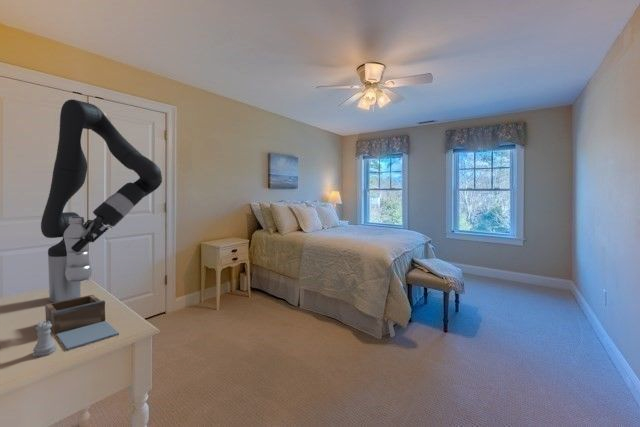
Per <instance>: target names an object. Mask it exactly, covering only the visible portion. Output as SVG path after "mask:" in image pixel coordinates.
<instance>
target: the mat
mask: <svg viewBox="0 0 640 427" xmlns="http://www.w3.org/2000/svg"><path fill="white" fill-rule="evenodd" d="M119 335H120V333H119V332H118V331H117V329H115V328H114V327H113V326H112V325H111V324H110V323H109V322H107V321H106V320H105V321H103V322H99V323H96V324H92V325H88V326H84V327H81V328H77V329H73V330H69V331H66V332H62V333H58V334H57V335H56V337H57V338H58V339H57V340H59V341H60V343H61V344H62V345H63V346H64V348H65V350H66V351H70V350H75V349H77V348H80V347H83V346H84V347H85V346H87V345H90V344H93V343H97V342H100V341H104V340H106V339H110V338H113V337H117V336H119Z"/></svg>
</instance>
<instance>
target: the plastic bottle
mask: <svg viewBox="0 0 640 427" xmlns="http://www.w3.org/2000/svg"><path fill="white" fill-rule="evenodd" d="M85 223H86V222H85V217H84V216H80V217H69V224H70V226H69V227H68V228H67V229H66V230H65V232H64V235H63V236H64V241H65V245H66V252H67V267H66V271H65V276H66V279H67V280H68V281H72V282H79V281H80V282H82V281H86V280H89V279H90V278H91V277H92V274H93V269H92V265H91V261H90V254H89V249H90V248H89V247H90V243H88V244H87V245H86V246H85V247H84V248H82V249H81V250H80V251H79V252H75V251H74V250H72V249H71V247H72V246H73V245H74V244H75V243H77V242H78V241H79V240H80V239H82V237H83V236H84V235H85V231H86V229H87V228H86V227H85V226H84V224H85Z"/></svg>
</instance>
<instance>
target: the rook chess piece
mask: <svg viewBox="0 0 640 427" xmlns="http://www.w3.org/2000/svg"><path fill="white" fill-rule="evenodd" d="M51 326H52V324H51V323H50V321H47V323H46V320H44V321H43V323H42V322H41V321H40V322H38V323H37V324H36V327H35V330H36V331H37V333H36V335H37V340H36V344H35V347H34V348H33V349H32V351H33V354H32V355H33V356H35V357H38V358H39V357H45V356H48V355H51V354H52V353H54V352H55V351H56V350H57V349H56V348H57V347H56V343H55V342H54V340H53V339H52V336H51V332H52V330H51V329H50V328H51Z"/></svg>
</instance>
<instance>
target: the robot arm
mask: <svg viewBox="0 0 640 427" xmlns="http://www.w3.org/2000/svg"><path fill="white" fill-rule="evenodd" d="M59 115H60V116H59V133H58V141H57V142H58V143H57V150H56V155H55V157H56V158H55V160H54V164H53V171H52V175H51V176H52V178H51V184H50V188H49V193H48V198H47V201H46V204H45V208H44V210H43V213H42V218H41V222H40V230H41V234H42V235H43V237H45V238H47V239H55V238H62V239H61V240H60V241H59V242H57V243H56V244H54V245H52V246H50V247H49V248H48V249H47V259H48V260H47V261H48V262H47V263H48V288H49V289H48V293H49V297H48V298H49V300H48V301H49V302H50V303H54V302H59V301H64V300H69V299H74V298H79V297H82V295H81V294H82V293H81V290H82V289H81V281H79V282H72V281H68V280H67V279H66V276H65V271H66V267H67V252H66V245H65V241H64V236H63V235H64V232H65V230H66V229H67V228H68V227H69V226H70V224H69V217H81V216H80V215H79V214H78V212H74V211H73V212H72V211H71V212H69V211H67V212H64V210H65V207H66V205H67V203H68V202H69V200H71V198H72V197H74V195H76V193H77V192H79V190H80V189H81V188H82V187H83V186H84V184H85V182H86V176H87V172H88V160H87V159H86V156H85V153H84V151H83V148H82V143H81V142H82V141H81V140H82V134H83V130H84V129H86V130H91V131H92V132H94V133H95V134H97V135H98V136H99V137H101V138H102V139H103V141H104V142H105V143H106V146H107V148H108V150H109V152H110V153H111V154H112V156H113V157H114V158H115V159H116V160H117V161H118V162H119V163H120V164H122V165H123V166H124V167H125V168H127V169H128V170H130V171H133V172H134V173H135V174H136V175H138V177H139V178H138V179H137V180H135V181H134V182H127V183H125V184H124V185H122V186H121V188H119V189H118V190H117V191H116V192H115V193H113V194H112V195H110V196H109V197H108V198H106V200H105V201H103V202H102V203H101V204H100V205H98V206H97V207H96V208H95V209H94V210H93V211H92V213H93V215H94V216H96V217H94V219H88V220H86V222H85V223H83V225H84V226H85V227H86V228H87V229H86V231H85V235H84V236H83V237H82V239H80V240H79V241H78V242H77V243H75V244H74V245H73V246H72V247H71V249H72V250H74V251H75V252H79V251H80V250H81V249H82V248H84V247H85V246H86V245H87V244H88V243H89V244H90V243H94V242H95V241H96V240H98V239H99V238H100V237H101V236H102V235H103V234H104V233H106V232H107V231H108V230H109V227H108V226H110V227H115V226H116V225H117V224H118V223H120V222H121V221H122V220H123V219H124V218H125V217H126V216H127V215H128V214H129V213H130V212H131V211H132V209H133V208H134V207H135V206H136V205H137V204H138V203H140V201H141V200H143V198H146V197H147V196H148V195H150V194H152V193H153V192H154V191H156V190H157V189H159V187H160V186H161V185H162V183H163V177H162V171H161V169H160V167H159V166H158V165H157V164H156V163H155V162H154V161H153V160H151V159H150V158H148V157H146V156H145V155H143V154H142V153H141V152H140V151H139V150H138V149H136V147H134V145H132V144H131V143H130V142H129V141H128V140H127V139H126V138H125V137H124V136H123V135H122V134H121V133H120V131H119V130H117V128H116V127H115V126H114V125H113V123H112V122H111V121H110V120H109V118H108V117H107V115H106V114H105V113H104V112H103V111H102V109H100V107H98V106H96V105H95V104H93V103H89V102H86V101H81V100H77V99H72V98H71V99H68V100H65V102H63V104H62V106H61V109H60V114H59Z"/></svg>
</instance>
